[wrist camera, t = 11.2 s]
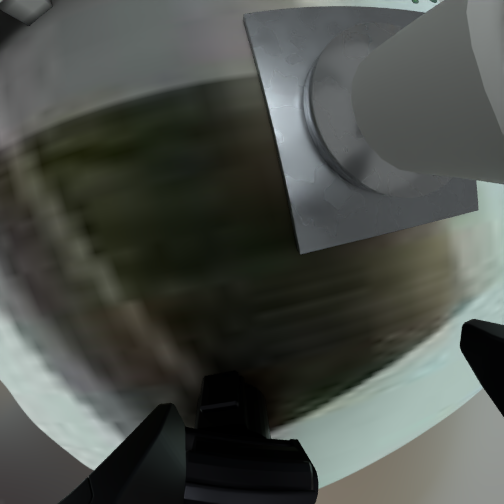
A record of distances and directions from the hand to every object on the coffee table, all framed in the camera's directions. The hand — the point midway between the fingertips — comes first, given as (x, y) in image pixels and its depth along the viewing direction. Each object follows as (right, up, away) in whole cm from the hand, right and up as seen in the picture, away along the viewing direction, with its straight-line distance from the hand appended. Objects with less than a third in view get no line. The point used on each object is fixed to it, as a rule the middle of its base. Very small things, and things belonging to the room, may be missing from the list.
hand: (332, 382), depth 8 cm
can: (+7, +12, +7) cm, 15 cm away
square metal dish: (+6, +13, +10) cm, 18 cm away
